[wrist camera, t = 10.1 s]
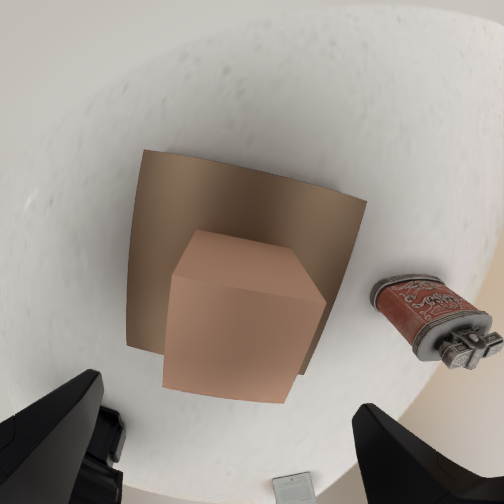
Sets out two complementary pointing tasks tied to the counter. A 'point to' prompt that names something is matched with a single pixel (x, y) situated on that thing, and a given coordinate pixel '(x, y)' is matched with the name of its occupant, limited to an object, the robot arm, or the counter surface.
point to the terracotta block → (238, 319)
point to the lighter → (436, 320)
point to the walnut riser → (229, 231)
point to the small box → (294, 489)
